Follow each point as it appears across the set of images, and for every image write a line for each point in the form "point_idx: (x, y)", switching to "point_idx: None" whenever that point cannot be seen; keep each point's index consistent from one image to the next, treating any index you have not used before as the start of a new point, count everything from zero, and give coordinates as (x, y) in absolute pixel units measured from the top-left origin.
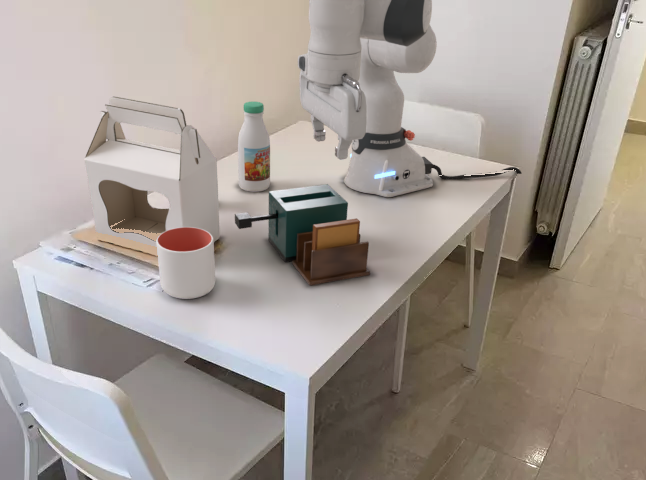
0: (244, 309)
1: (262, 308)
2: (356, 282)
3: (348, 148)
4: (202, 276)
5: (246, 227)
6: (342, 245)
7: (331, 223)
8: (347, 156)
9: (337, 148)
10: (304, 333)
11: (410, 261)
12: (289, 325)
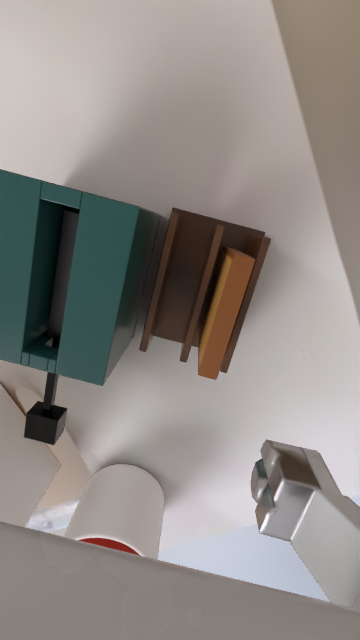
0: (222, 464)
1: (235, 444)
2: (268, 274)
3: (349, 499)
4: (160, 524)
5: (64, 418)
6: (242, 303)
7: (219, 334)
8: (318, 453)
9: (296, 546)
10: (327, 436)
11: (276, 105)
12: (297, 440)
